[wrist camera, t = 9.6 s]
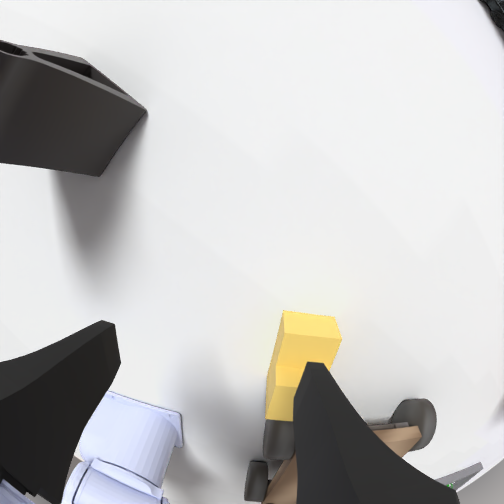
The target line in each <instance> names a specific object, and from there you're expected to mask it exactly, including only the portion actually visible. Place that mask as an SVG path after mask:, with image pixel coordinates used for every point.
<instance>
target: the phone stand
mask: <svg viewBox="0 0 504 504" xmlns="http://www.w3.org/2000/svg"><path fill="white" fill-rule="evenodd" d="M145 112H146V109H145V108H144V107H143V106H142V105H141V104H139V103H138V102H137V101H136V100H135V99H133V98H132V97H131V96H130V95H129V94H127V93H126V92H125V91H124V90H122V89H121V88H120V87H119V86H117V85H116V84H115V83H114V82H112V81H111V80H110V79H109V78H107V77H106V76H105V75H104V74H102V73H101V72H100V71H99V70H97V69H96V68H95V67H93V66H92V65H91V64H90V63H88V62H87V61H86V60H84V59H83V58H80V57H77V56H72V55H68V54H64V53H60V52H55V51H50V50H45V49H40V48H34V47H28V46H22V45H17V44H13V43H9V42H6V41H2V40H0V163H6V164H14V165H23V166H31V167H38V168H46V169H53V170H60V171H66V172H73V173H79V174H86V175H92V176H98V177H100V175H101V174H102V172H103V171H104V169H105V167H106V166H107V164H108V163H109V161H110V160H111V158H112V157H113V155H114V154H115V152H116V151H117V149H118V148H119V146H120V145H121V144H122V142H123V141H124V139H125V138H126V137H127V135H128V134H129V132H130V131H131V130H132V128H133V127H134V126H135V124H136V123H137V122H138V120H139V119H140V118H141V117H142V115H143V114H144V113H145Z"/></svg>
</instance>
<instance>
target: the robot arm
mask: <svg viewBox="0 0 504 504" xmlns="http://www.w3.org/2000/svg"><path fill="white" fill-rule="evenodd" d="M120 364H121V360H120V354H119V349H118V342H117V336H116V329H115V324H113V323H110V322H107V321H103V320H101V321H99V322H96V323H94V324H92V325H90V326H88V327H86V328H84V329H82V330H80V331H78V332H76V333H74V334H72V335H70V336H68V337H66V338H64V339H62V340H60V341H58V342H56V343H54V344H51V345H49V346H47V347H45V348H42V349H40V350H38V351H35V352H33V353H30V354H27V355H25V356H21V357H18V358H15V359H12V360H8V361H3V362H0V504H35V503H34V502H32V501H31V500H29V499H28V498H27V497H26V496H24V495H25V494H26V492H28V493H29V494H31V495H32V496H34V497H35V496H36V494H38V495H40V496H41V497H43V498H44V499H46V500H47V501H49V502H50V503H52V504H170V503H169V502H168V499H167V498H165V497H162V495H163V492H164V490H163V489H161V486H162V483H163V479H164V476H165V473H166V470H167V467H168V464H169V460H170V457H171V454H172V451H173V448H174V447H178V448H181V447H182V446H183V442H182V429H181V416H180V414H179V413H177V412H173V411H169V410H165V409H162V408H158V407H155V406H151V405H148V404H145V403H142V402H138V401H135V400H132V399H129V398H126V397H124V396H121V395H118V394H115V393H112V392H110V391H108V389H109V387H110V386H111V384H112V382H113V380H114V378H115V376H116V374H117V371H118V369H119V367H120ZM99 403H100V404H99ZM97 406H98V407H97ZM96 408H97V409H96ZM94 411H95V412H94ZM92 414H93V415H92ZM91 416H92V417H91ZM89 419H90V420H89ZM88 421H89V422H88ZM85 426H86V427H85ZM293 430H294V441H295V451H296V462H297V499H296V504H460V502H459V499H458V496H457V493H456V490H454V489H452V488H450V487H448V486H446V485H444V484H442V483H440V482H437V481H435V480H433V479H432V478H430V477H428V476H427V475H425V474H423V473H422V472H420V471H419V470H417V469H416V468H414V467H413V466H411V465H410V464H409V463H407V462H406V461H405V460H404V459H402V458H401V457H400V456H399V455H397V454H396V453H395V452H394V451H393V450H391V449H390V448H389V447H388V446H387V445H386V444H385V443H384V442H383V441H382V440H381V439H380V438H379V437H378V436H377V435H376V434H375V433H374V432H373V431H372V430H371V429H370V428H369V426H368V425H367V424H366V423H365V422H364V420H363V419H362V418H361V417H360V415H359V414H358V413H357V412H356V410H355V409H354V408H353V406H352V405H351V403H350V402H349V401H348V399H347V398H346V396H345V395H344V393H343V392H342V391H341V389H340V388H339V386H338V384H337V383H336V381H335V380H334V378H333V377H332V375H331V374H330V372H329V370H328V369H327V367H326V366H325V364H324V363H319V362H308V361H307V363H306V366H305V369H304V372H303V374H302V377H301V380H300V382H299V385H298V388H297V390H296V393H295V396H294V399H293ZM82 432H83V433H82ZM81 435H82V436H81ZM80 437H81V439H80ZM79 439H80V453H81V456H82V458H83V459H84V460H85V461H84V462H80V463H78V465H77V466H76V467H75V469H74V470H73V472H72V474H71V476H70V478H69V480H68V482H67V485H66V488H65V490H64V486H65V481H66V477H67V474H68V470H69V467H70V464H71V461H72V458H73V455H74V452H75V449H76V447H77V444H78V442H79ZM63 491H64V494H63ZM62 497H63V499H62Z"/></svg>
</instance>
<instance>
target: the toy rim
mask: <svg viewBox="0 0 504 504" xmlns="http://www.w3.org/2000/svg"><path fill="white" fill-rule="evenodd" d="M482 469H483V466H482V464H481V462H480V463H477V464H475V465H473V466H471V467H468V468H466V469H464V470H461V471H459V472H456V473H453V474H451V475H448V476H445V477H442V478H440V479H437V480H435V481H437V482H440V483H442V484H444V485H449V484H451V483H454V482H455V483H454V484H453V485H452V486H453V487H452V486H450V488H452V489H454V490H457V489H458V488H460V487H461V486H462V485H463V484H465V483H466V482H467V481H469V480H470V479H471V478H472V477H474V476H475V475H476V474H477V473H478V472H480V471H481V470H482ZM456 481H457V482H456Z"/></svg>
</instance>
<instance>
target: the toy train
mask: <svg viewBox="0 0 504 504" xmlns="http://www.w3.org/2000/svg"><path fill="white" fill-rule="evenodd" d="M480 1H482V2H486V3H487V4H488V6H489V7H490V9H491V10H492V12H491V17H492V19H493V20H494V22H495V23H496V25H497V26H498V27H502V28H503V30H504V0H480Z"/></svg>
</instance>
